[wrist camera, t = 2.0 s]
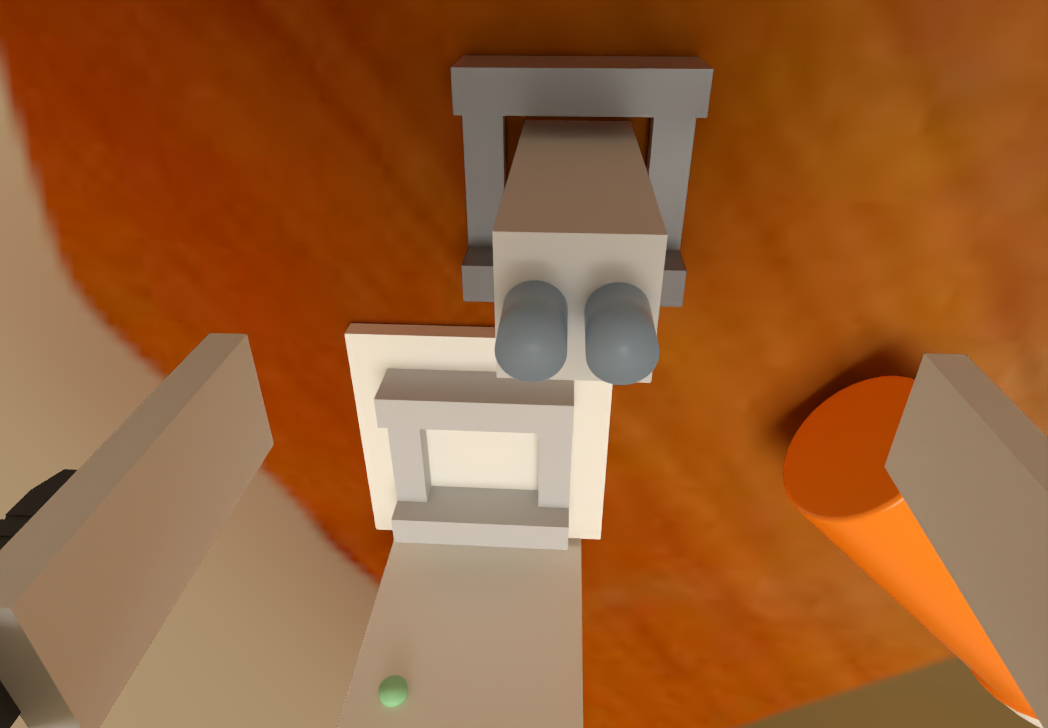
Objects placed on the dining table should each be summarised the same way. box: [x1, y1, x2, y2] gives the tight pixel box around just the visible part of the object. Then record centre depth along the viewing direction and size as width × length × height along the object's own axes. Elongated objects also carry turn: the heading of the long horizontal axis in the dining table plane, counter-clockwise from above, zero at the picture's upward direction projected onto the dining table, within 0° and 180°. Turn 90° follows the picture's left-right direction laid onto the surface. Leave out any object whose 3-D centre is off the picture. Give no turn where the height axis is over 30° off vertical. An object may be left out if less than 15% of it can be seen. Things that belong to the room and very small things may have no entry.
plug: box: [492, 120, 668, 385], centre depth 21 cm, size 4×4×14 cm
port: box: [337, 323, 612, 728], centre depth 29 cm, size 14×12×12 cm
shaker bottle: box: [783, 376, 1043, 728], centre depth 30 cm, size 9×9×20 cm
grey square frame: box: [451, 55, 713, 307], centre depth 25 cm, size 8×8×3 cm
